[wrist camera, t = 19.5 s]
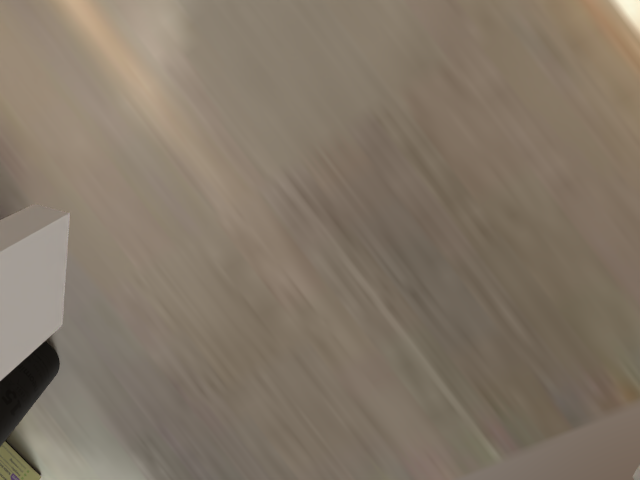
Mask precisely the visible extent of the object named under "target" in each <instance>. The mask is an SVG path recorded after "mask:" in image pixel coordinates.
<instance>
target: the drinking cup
mask: <svg viewBox="0 0 640 480" xmlns="http://www.w3.org/2000/svg"><path fill="white" fill-rule="evenodd" d="M58 370H59V359H58V356H57V354H56V352H55V351H54V350H53V348H52V347H51V346H50V345H48V344H47V343H46V342H43V343H42V344H41V345H40V346H39V347H38V348H37V349H36V350H34V351H33V352H32V353H31V354H30V355H29V356H28V357H27V358H25V359H24V360H23V361H22V362H21V363H20V364H19V365H18V366H17V367H15V368H14V369H13V370H12V371H11V372H10V373H9V374H8V375H6V376H5V377H4V378H3V379H2V380H1V381H0V447H1V445H2V444H3V443H4V441H5V440H6V439H7V438H8V436H9V435H10V434H11V432H12V431H13V430H14V429H15V427H16V426H17V425H18V423H19V422H20V421H21V420H22V418H23V417H24V416H25V414H26V413H27V412H28V411H29V409H30V408H31V407H32V405H33V404H34V403H35V402H36V400H37V399H38V398H39V396H40V395H41V394H42V393H43V391H44V390H45V389H46V387H47V386H48V385H49V384H50V382H51V381H52V380H53V378H54V377H55V376H56V374H57V373H58Z"/></svg>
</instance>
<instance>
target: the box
mask: <svg viewBox="0 0 640 480" xmlns="http://www.w3.org/2000/svg"><path fill="white" fill-rule="evenodd" d="M40 478H41V476H40V475H39V474H38V473H37V472H36V471H35V470H33V469H32V468H31V467H30V466H29V465H28V464H27V463H26V462H25V461H24V460H23V459H22V458H21V457H20V456H19V455H18V454H17V453H16V452H15V451H14V450H13V449H12V448H11V447H10V446H9V445H8V444H7V443H6V441H4V443H3V444H2V445H1V447H0V480H40Z"/></svg>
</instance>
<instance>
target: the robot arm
mask: <svg viewBox="0 0 640 480" xmlns="http://www.w3.org/2000/svg"><path fill="white" fill-rule="evenodd" d="M69 218H70V213H69V212H65V211H61V210H57V209H53V208H49V207H46V206H42V205H38V204H33V205H31V206H29V207H27V208H24V209H22V210H20V211H18V212H16V213H14V214H12V215H10V216H8V217H6V218H4V219H1V220H0V381H1V380H2V379H3V378H4V377H5V376H6V375H8V374H9V373H10V372H11V371H12V370H13V369H14V368H15V367H17V366H18V365H19V364H20V363H21V362H22V361H23V360H24V359H25V358H27V357H28V356H29V355H30V354H31V353H32V352H33V351H34V350H36V349H37V348H38V347H39V346H40V345H41V344H42V343H43V342H44V341H46V340H47V339H48V338H49V337H50V336H51V335H52V334H53V333H54V332H56V331H57V330H58V329H59V328H60V327H61V326H62V323H63V308H64V293H65V278H66V263H67V248H68V233H69ZM633 478H634V480H640V465H639V466H638V468H637V470H636V472H635V474H634V475H633Z"/></svg>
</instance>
